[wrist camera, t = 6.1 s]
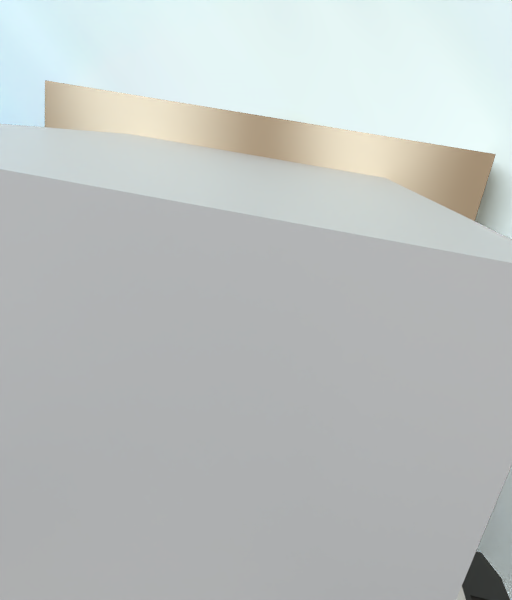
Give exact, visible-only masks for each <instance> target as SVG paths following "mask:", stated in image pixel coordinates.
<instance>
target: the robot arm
mask: <svg viewBox="0 0 512 600" xmlns="http://www.w3.org/2000/svg"><path fill="white" fill-rule="evenodd" d="M456 600H510V599H509V597H508V594H507V592H506V589H505V587H504V584H503V582H502V579H501V578H500V576H499V575H498V574H497V572H496V571H495V570H494V569H493V567H492V566H491V565H490V564H489V562H488V561H487V560H486V558H485V557H484V556H483V555H482V553H480V552H476V553H475V555H474V557H473V560H472V562H471V565H470V567H469V570H468V572H467V574H466V577H465V579H464V582H463V584H462V586H461V589H460V591H459V594H458V596H457V598H456Z"/></svg>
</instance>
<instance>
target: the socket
mask: <svg viewBox="0 0 512 600" xmlns="http://www.w3.org/2000/svg"><path fill="white" fill-rule="evenodd" d="M511 466H512V239H510V238H508V237H506V236H504V235H502V234H500V233H498V232H496V231H494V230H492V229H490V228H488V227H485V226H483V225H481V224H479V223H477V222H475V221H473V220H471V219H469V218H467V217H465V216H463V215H461V214H459V213H457V212H455V211H453V210H450V209H448V208H446V207H444V206H442V205H440V204H438V203H436V202H434V201H432V200H430V199H428V198H426V197H424V196H422V195H420V194H417V193H415V192H413V191H411V190H409V189H407V188H405V187H403V186H401V185H399V184H397V183H395V182H393V181H391V180H389V179H387V178H383V177H377V176H371V175H366V174H360V173H354V172H348V171H342V170H337V169H331V168H325V167H319V166H313V165H307V164H302V163H296V162H290V161H284V160H278V159H273V158H267V157H261V156H255V155H249V154H243V153H238V152H232V151H226V150H220V149H214V148H209V147H203V146H197V145H191V144H185V143H179V142H174V141H168V140H162V139H156V138H150V137H145V136H139V135H133V134H123V133H111V132H98V131H86V130H73V129H60V128H48V127H35V126H23V125H10V124H0V600H456V598H457V596H458V594H459V591H460V589H461V586H462V584H463V582H464V579H465V577H466V574H467V572H468V570H469V567H470V565H471V562H472V560H473V557H474V555H475V553H476V550H477V548H478V545H479V543H480V541H481V538H482V536H483V533H484V531H485V529H486V526H487V524H488V521H489V519H490V517H491V514H492V512H493V509H494V507H495V504H496V502H497V500H498V497H499V495H500V492H501V490H502V488H503V485H504V483H505V480H506V478H507V476H508V473H509V471H510V468H511Z"/></svg>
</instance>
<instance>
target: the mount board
mask: <svg viewBox="0 0 512 600" xmlns="http://www.w3.org/2000/svg"><path fill="white" fill-rule="evenodd" d="M45 127H48V128H60V129H73V130H86V131H98V132H111V133H123V134H133V135H139V136H145V137H150V138H156V139H162V140H168V141H174V142H179V143H185V144H191V145H197V146H203V147H209V148H214V149H220V150H226V151H232V152H238V153H243V154H249V155H255V156H261V157H267V158H273V159H278V160H284V161H290V162H296V163H302V164H307V165H313V166H319V167H325V168H331V169H337V170H342V171H348V172H354V173H360V174H366V175H371V176H377V177H383V178H387V179H389V180H391V181H393V182H395V183H397V184H399V185H401V186H403V187H405V188H407V189H409V190H411V191H413V192H415V193H417V194H420V195H422V196H424V197H426V198H428V199H430V200H432V201H434V202H436V203H438V204H440V205H442V206H444V207H446V208H448V209H450V210H453V211H455V212H457V213H459V214H461V215H463V216H465V217H467V218H469V219H471V220H473V221H475V218H476V215H477V212H478V208H479V205H480V202H481V199H482V196H483V193H484V189H485V186H486V183H487V180H488V177H489V174H490V170H491V167H492V164H493V161H494V158H495V154H490V153H484V152H478V151H472V150H466V149H460V148H454V147H448V146H442V145H436V144H429V143H423V142H417V141H411V140H405V139H399V138H393V137H387V136H381V135H375V134H368V133H362V132H356V131H350V130H344V129H338V128H332V127H326V126H320V125H314V124H308V123H301V122H295V121H289V120H283V119H277V118H271V117H265V116H259V115H253V114H247V113H240V112H234V111H228V110H222V109H216V108H210V107H204V106H198V105H192V104H186V103H180V102H173V101H167V100H161V99H155V98H149V97H143V96H137V95H131V94H125V93H119V92H112V91H106V90H100V89H94V88H88V87H82V86H76V85H70V84H64V83H58V82H52V81H45Z"/></svg>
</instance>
